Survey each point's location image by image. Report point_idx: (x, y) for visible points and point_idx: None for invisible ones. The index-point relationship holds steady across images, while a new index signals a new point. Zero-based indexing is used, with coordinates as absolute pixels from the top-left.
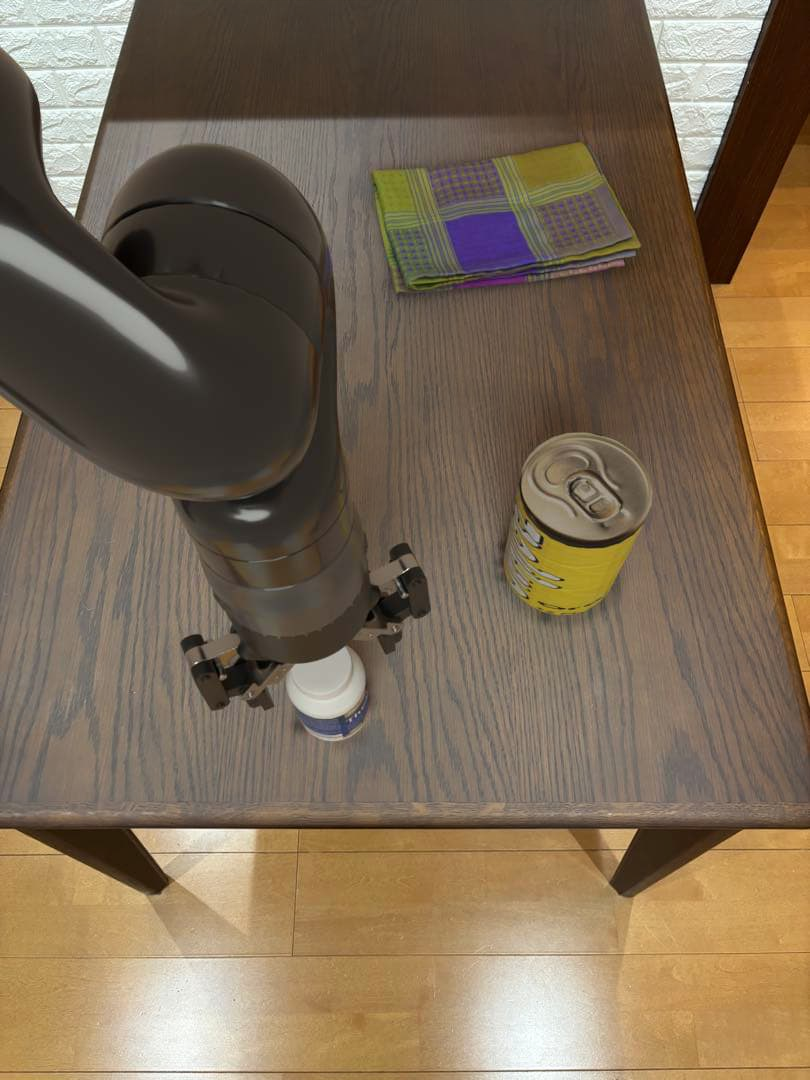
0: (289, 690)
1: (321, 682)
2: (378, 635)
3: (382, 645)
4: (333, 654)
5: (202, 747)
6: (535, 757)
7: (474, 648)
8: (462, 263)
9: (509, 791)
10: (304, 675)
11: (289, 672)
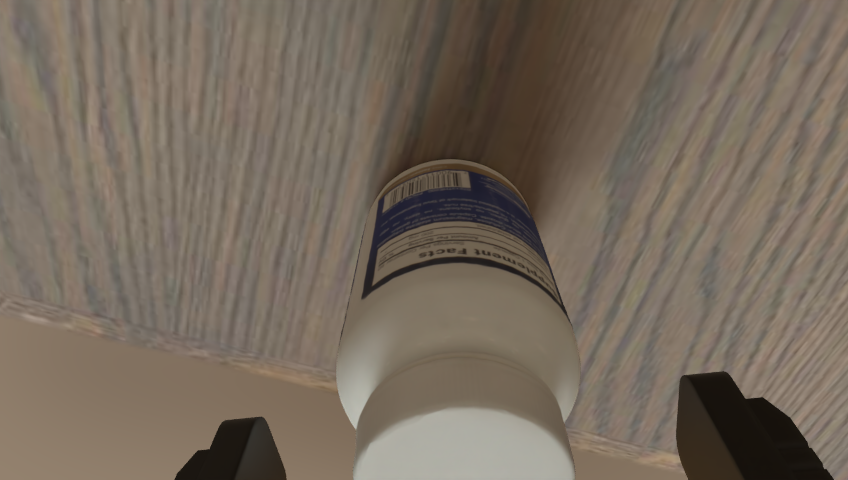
0: (342, 398)
1: None
2: (707, 468)
3: (694, 467)
4: (518, 473)
5: (140, 232)
6: None
7: (819, 197)
8: None
9: None
10: None
11: (352, 362)
